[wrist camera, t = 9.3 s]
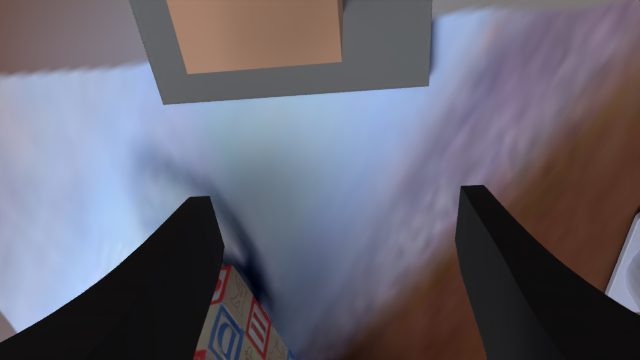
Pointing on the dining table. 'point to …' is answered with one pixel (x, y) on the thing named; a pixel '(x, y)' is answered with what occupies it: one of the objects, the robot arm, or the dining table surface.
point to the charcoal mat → (347, 76)
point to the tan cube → (257, 33)
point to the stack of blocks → (238, 325)
